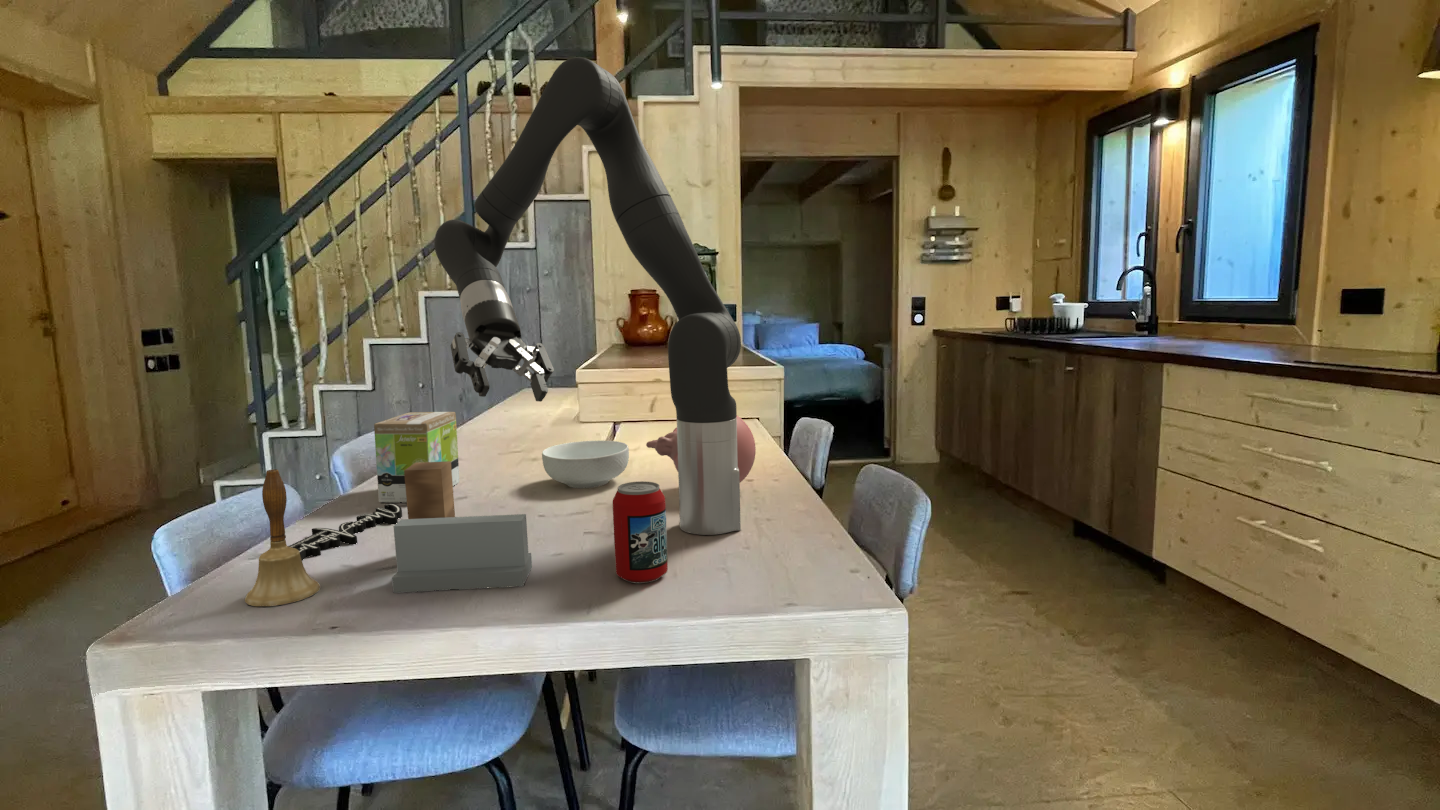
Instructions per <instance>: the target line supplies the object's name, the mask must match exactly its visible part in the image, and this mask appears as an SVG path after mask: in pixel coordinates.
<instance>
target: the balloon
mask: <svg viewBox="0 0 1440 810" xmlns="http://www.w3.org/2000/svg"><path fill="white" fill-rule="evenodd" d="M753 434H754V433H753V432H752V430H751V429H750V427H749V425H748V424H747V423H746V421H744V420H743V419H742V417H740V416H739V415H737V459H738V469H739V477H740V483H741V482H743V481H744V480H745V479H746V477H748V475H749V473H750V472H751V470H752V469H753V465H754V463H755V459H756V453H757V452H756V451H757V448H756V442H755V441H756V440H755V437H754V435H753ZM645 446H646V448H649V449H650V448H651V449H654V450H655V452H656V453H657V455H659V456H661V457H662V456H667V457H669V458H670V459H671V460H672V462H673V465H674V467H675V470H676V471H677V472H678V445H677V426H676V427H675V428H674V429H673V430H672V431H671V432H668V433H666V434H665V435H664V436H659V437H658V438H657V439H653V440H649V441H647V442H646V443H645Z"/></svg>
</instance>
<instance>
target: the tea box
mask: <svg viewBox="0 0 1440 810" xmlns="http://www.w3.org/2000/svg"><path fill="white" fill-rule="evenodd" d="M456 414H457V413H456V412H455V411H420V412H419V411H416V412H415V411H414V412H413V411H412V412H406V413H402V414H399V415H396V416H393V417H391V418H387V419H384V420H381V421H379V422H378V421H377V422H376V423H374V424H373V428H374V429H373V431H374V443H375V444H374V445H375V446H374V447H375V461H376V462H375V463H376V464H375V465H376V476H377V477H376V478H377V492H378V493H377V494H378V502H379V503H388V504H397V503H399V504H400V502H402V503H407V499H406V487H405V475H404V470H406V469H407V468H408V467H410V466H411V465H413V464H414V463H420V462H446V461H451V470H452V483H453V487H455V486H457V485H458V484H459V483H460V468H459V450H458V449H459V448H458V435H457V434H458V431H457V428H458V427H457V415H456ZM457 483H458V484H457ZM456 484H457V485H456ZM454 485H455V486H454Z"/></svg>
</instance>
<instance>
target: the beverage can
mask: <svg viewBox="0 0 1440 810" xmlns="http://www.w3.org/2000/svg"><path fill="white" fill-rule="evenodd" d="M666 506H667V505H666V495H664V492H663V491H662V489H661V488H660V484H658V483H657V482H654V481H645V480H644V481H642V480H641V481H631V482H630V481H629V482H625V483H622V484H619V485H618V486H617V489H616V492H615V494H614V497H613V499H612V519H613V520H612V521H613V523H612V524H613V541H614V542H613V544H614V545H613V547H614V559H615V560H614V561H615V574H616V575H617V576H618V577H619V578H620V579H623V580H624V581H626V582H628V583H633V584H646V583H651V582H654V581H657V580H659V579H660V578H661V577H663V575H665V574H666V573H667V572H668V539H667V538H668V533H667V532H668V530H667V511H666V510H667V507H666Z"/></svg>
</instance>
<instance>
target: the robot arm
mask: <svg viewBox="0 0 1440 810" xmlns="http://www.w3.org/2000/svg"><path fill="white" fill-rule="evenodd" d="M540 95H541V96H540V97H539V99H538V101H537V103H536V105H535V107H534V109H533V111H532V112H531V115H530V116H529V118H528V120H527V122H526V124H525V126H524V127H523V129H522V131H521V133H520V134H519V137H518V138H517V140H516V142H515V144H514V145H513V147H512V149H511V151H510V152H509V154H508V156H507V157H506V159H504V161H503V163H502V164H501V166H500V167H499V169H497V171H496V172H495V173H494V175H493V176H492V177H491V179H490V180H489V182H488V183H487V184H486V186H484V187H483V189H482V190H481V192H480V194H479V195H478V196H477V198H476V200H475V201H474V210H475V212H476V214H477V215H478V217H480V219H482V220H483V222H485V223H486V224H487V225H488V226H487V228H486V230H485V231H483V230H481V229H480V228H478V227H475V226H473V225H471V224H470V223H467V222H465V221H463V220H460V219H449V220H446V221H444V222H443V223H441V225H440V226H439V227H438V228H437V230H436V232H435V236H434V243H433V245H434V250H435V255H436V257H437V259H438V261H439V263H440V264H441V266H442V267H443V269H444V271H445V273H446V274H447V275H448V276H449V278H450V279H451V280H452V282H453V283H454V285H455V287H456V291H457V294H458V297H459V301H460V310H461V316H462V319H463V322H464V325H465V328H466V332H467V335H468V337H466V336H465V334H464V333H462V332H460V331H457V332H455V335H454V336H453V339H452V341H451V344H450V351H451V356H452V362H453V363H452V364H453V368H454V372H456V373H457V374H459V375H461V374H463V373H465V374H467V375H468V377H469V378H470V379H471V383H472V386H473V390H474V391H475V393H476V394H477V393H478V396H479V397H481V398H482V397H483V398H485V397H487V394H488V392H489V390H490V383H489V381H488V379H489V378H488V376H487V372H486V370H485V368H486V367H487V366H489V367H491V369H505V370H509V371H513V372H515V374H517V375H518V376H519V377H524V378H525V379H527V380H528V381H529V382H530V387H531V390H532V393H533V396H534V400H535V402H542V401H543V400H544V399H545V398H546V396H547V394H548V391H549V389H548V386H547V383H548V381H549V379H550V378H551V375H552V374H553V373H554V371H555V368H554V366H553V363H552V361H551V359H550V357H549V355H548V352H547V349H546V348H545V345H544V344H543V343H541V342H537V343H536V345H535V346H532V345H531V346H529V345H527V343H526V342H524V341H523V339H522V333H521V332H522V330H521V328H520V324H519V321H518V318H517V316H516V311H515V310H514V307H513V304H512V301H511V298H510V297H509V294H508V293H507V291H506V288H505V285H504V281H503V279H502V276H501V274H500V272H499V270H498V268H497V266H499V263H500V261H501V260H502V257H503V254H504V251H505V248H506V246H507V243H508V242H509V239H510V236H511V235H512V231H513V230H514V228H515V225H516V224H517V223H518V221H520V219H521V218H522V216H523V215H524V214H525V212H527V210H528V209H529V208H530V206H531V205H532V203H533V202H534V200H535V199H536V198H537V196H538V195H539V193H540V191H541V189H542V187H543V183H544V182H545V179H546V175H547V172H548V168H549V166H550V162H551V161H552V158H553V157H554V154H555V152H556V150H557V148H558V147H559V145H560V144H561V143H562V142H563V140H564V139H565V138H566V137H567V136H568V135H569V133H570V132H572V131H573V130H574V128H576V127H577V126H579V127H581V128H582V130H583V131H584V132H585V133H586V136H588V138H589V140H590V141H591V143H592V145H593V147H594V148H595V151H596V153H597V154H598V157H599V158H600V161H601V164H602V165H603V168H604V170H605V171H604V172H605V176H606V181H607V182H606V183H607V192H608V193H607V194H608V198H609V199H608V201H609V204H610V208H611V212H612V214H613V218H614V220H615V222H616V224H617V226H618V228H619V230H620V232H621V235H622V237H623V239H624V240H625V243H626V245H627V247H628V248H629V250H630V252H631V253H632V255H633V256H634V257H635V259H636V260H637V262H638V263H639V264H640V266H641V267H642V268H643V269H644V270H645V271H646V272H647V274H648V275H649V276H650V277H651V278H652V279H653V280H654V281H655V282H656V284H657V285H658V286H659V288H661V290H662V291H663V292H664V295H666V297H667V299H668V301H669V302H670V305H672V308H673V311H674V312H675V315H676V317H677V319H678V320H677V321H676V323H675V324H674V325H673V327H672V329H671V331H670V332H669V333H670V334H669V337H668V345H667V346H668V347H667V348H668V349H667V354H668V355H667V357H668V358H667V359H668V373H669V387H670V388H669V389H670V396H671V400H672V403H673V405H674V408H675V412H676V413H675V414H676V427H677V445H678V471H677V473H678V475H677V476H678V502H679V503H678V505H679V514H678V515H679V517H678V518H679V528H680V529H681V530H682V531H684V532H685V533H688V534H691V535H692V534H694V535H704V536H705V535H706V536H710V535H713V536H714V535H721V534H726V533H730V532H735V531H741V530H742V529H741V492H740V491H741V488H740V485H741V482H740V477H739V469H738V459H737V416H738V414H737V411H738V410H737V402H736V401H737V400H735V398H734V397H733V396H732V395H731V392H730V389H729V381H728V380H729V379H728V368H730V366H733V364H735V362H736V361H737V359H738V357H740V353H741V349H742V347H741V346H742V341H741V339H742V337H741V333H740V331H739V328H738V326H737V324H736V322H735V320H734V319H733V316H731V314H730V312H729V311H728V309H727V307H726V306H725V304H724V303H723V301H722V300H721V297H720V296H719V295H718V293H717V291H716V289H715V288H714V286H713V284H712V283H711V281H710V279H709V276H708V275H707V273H706V271H705V269H704V266H703V265H702V264H703V263H702V261H701V260H700V257H699V255H698V252H697V250H696V248H695V245H694V244H693V242H692V239H691V237H690V235H689V233H688V231H687V229H686V227H685V224H684V221H683V219H682V217H681V215H680V212H679V211H678V209H677V206H676V204H675V202H674V200H673V198H672V196H671V194H670V192H669V191H668V188H667V187H666V185H665V183H664V181H663V179H662V177H661V175H660V173H659V171H658V169H657V167H656V165H655V163H654V162H653V159H652V158H651V156H650V155H649V153H648V151H647V149H646V147H645V145H644V143H643V141H642V138H641V136H640V133H639V131H638V128H637V125H636V122H635V121H634V117H633V113H632V111H631V108H630V105H629V103H628V100H627V97H626V95H625V92H624V89H623V87H622V86H621V83H620V82H619V80H618V79H617V78H616V77H615V76H614V75H613V74H612V73H611V72H609V71H608V70H607V69H605V68H603V67H602V66H600V65H599V64H597V63H596V62H594V61H592V60H591V59H588V58H586V57H582V56H574V57H570V58H568V59H565V60H564V61H563V62H562V63H560V65H558V66H557V68H556V69H555V70H554V72H553V73H552V75H551V77H549V80H548V81H547V83H546V86H545V87H544V88H543V90H542V93H541V94H540ZM469 349H470V350H471V352H472V353H474V355H476V356H477V357H476V359H475V360H473V361H472V360H470V358H469V357H470V356H469V353H468V350H469ZM522 360H523V364H522V366H521V365H520V363H521V361H522ZM530 370H531V371H533V373H532V372H531V371H530Z"/></svg>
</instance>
